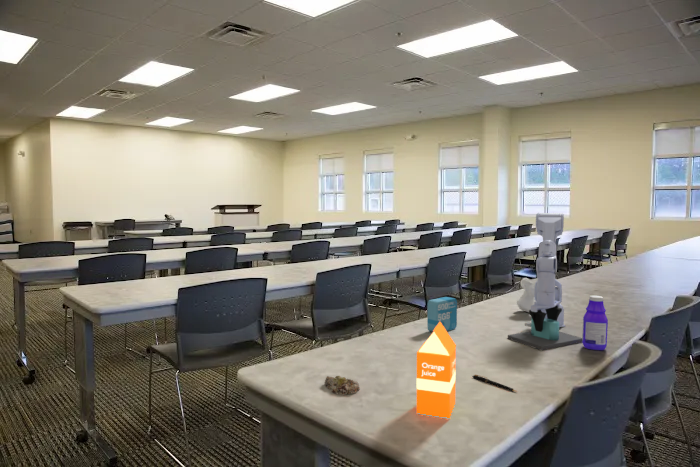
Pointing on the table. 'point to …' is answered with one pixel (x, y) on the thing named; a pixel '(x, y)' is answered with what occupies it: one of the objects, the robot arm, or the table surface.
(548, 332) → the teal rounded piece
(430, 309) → the data package
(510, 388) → the fountain pen
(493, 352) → the table surface
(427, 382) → the orange juice
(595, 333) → the bottle
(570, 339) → the rubber mat
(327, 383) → the mineral rock
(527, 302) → the white teddy bear
